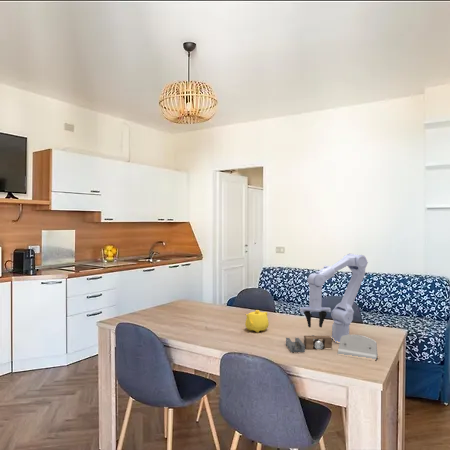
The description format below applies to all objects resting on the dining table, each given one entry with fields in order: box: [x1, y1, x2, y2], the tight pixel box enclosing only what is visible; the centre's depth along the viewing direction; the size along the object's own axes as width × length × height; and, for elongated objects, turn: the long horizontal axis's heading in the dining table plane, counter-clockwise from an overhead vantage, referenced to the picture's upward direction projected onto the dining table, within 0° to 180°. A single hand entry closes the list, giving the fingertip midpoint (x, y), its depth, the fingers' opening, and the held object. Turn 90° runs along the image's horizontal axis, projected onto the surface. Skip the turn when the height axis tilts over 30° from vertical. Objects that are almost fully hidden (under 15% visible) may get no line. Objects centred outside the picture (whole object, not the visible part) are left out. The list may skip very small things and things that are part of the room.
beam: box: [303, 335, 333, 350], centre depth 179 cm, size 4×12×5 cm, turn 93°
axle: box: [310, 334, 324, 350], centre depth 182 cm, size 10×4×4 cm, turn 3°
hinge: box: [337, 334, 379, 360], centre depth 170 cm, size 17×5×10 cm, turn 62°
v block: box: [285, 337, 306, 353], centre depth 178 cm, size 12×6×3 cm, turn 3°
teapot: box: [245, 309, 270, 334], centre depth 207 cm, size 18×11×11 cm, turn 135°
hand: (314, 326), depth 184 cm, fingers open, 5 cm apart
